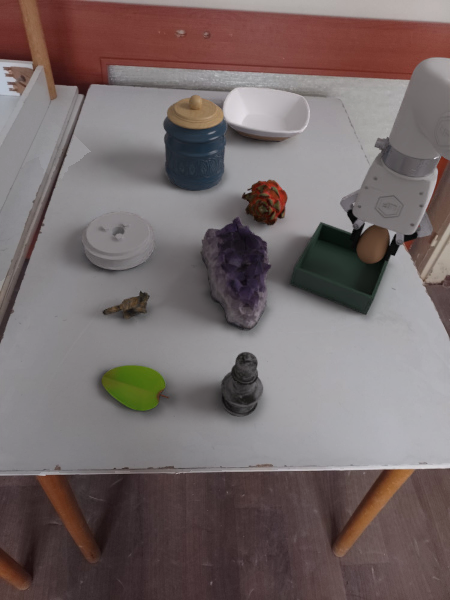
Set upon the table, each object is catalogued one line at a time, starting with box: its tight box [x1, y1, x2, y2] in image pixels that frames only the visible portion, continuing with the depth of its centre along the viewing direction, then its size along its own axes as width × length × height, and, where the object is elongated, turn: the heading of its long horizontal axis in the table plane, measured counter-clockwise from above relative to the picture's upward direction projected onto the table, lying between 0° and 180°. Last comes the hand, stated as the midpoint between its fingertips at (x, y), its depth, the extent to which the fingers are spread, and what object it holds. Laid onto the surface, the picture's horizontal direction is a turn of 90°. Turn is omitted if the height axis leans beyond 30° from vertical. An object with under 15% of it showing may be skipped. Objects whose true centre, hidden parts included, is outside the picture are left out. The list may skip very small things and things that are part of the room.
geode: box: [200, 216, 272, 331], centre depth 76 cm, size 20×12×10 cm, turn 12°
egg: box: [356, 224, 391, 264], centre depth 76 cm, size 5×5×8 cm
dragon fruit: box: [241, 179, 288, 227], centre depth 90 cm, size 8×8×12 cm
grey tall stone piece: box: [220, 351, 264, 417], centre depth 60 cm, size 6×6×12 cm
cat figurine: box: [101, 290, 151, 320], centre depth 73 cm, size 3×8×4 cm, turn 105°
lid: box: [81, 211, 155, 271], centre depth 82 cm, size 13×13×5 cm
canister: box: [162, 94, 228, 191], centre depth 93 cm, size 13×13×18 cm
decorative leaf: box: [101, 364, 170, 412], centre depth 65 cm, size 8×9×1 cm
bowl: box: [221, 86, 311, 142], centre depth 113 cm, size 22×22×5 cm
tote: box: [289, 221, 392, 315], centre depth 81 cm, size 14×14×4 cm
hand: (371, 248), depth 77 cm, fingers closed on egg, 5 cm apart
